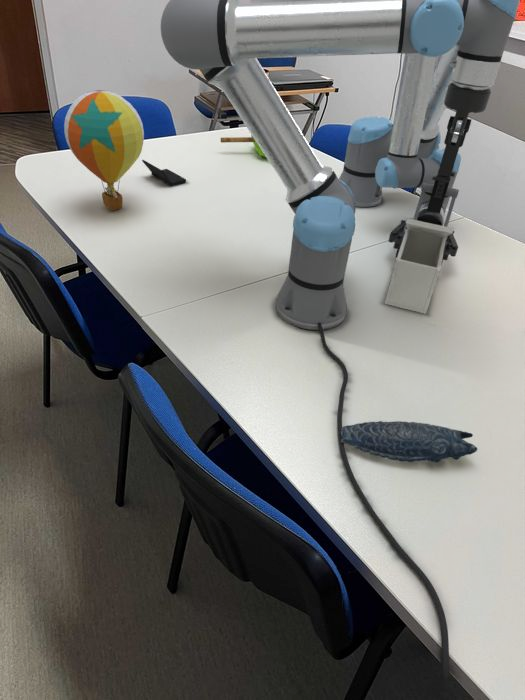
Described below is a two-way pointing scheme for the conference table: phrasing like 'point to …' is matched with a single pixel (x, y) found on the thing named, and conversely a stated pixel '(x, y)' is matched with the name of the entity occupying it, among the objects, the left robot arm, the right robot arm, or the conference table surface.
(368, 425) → the fish model
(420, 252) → the chest
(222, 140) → the decorative tree
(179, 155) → the conference table surface
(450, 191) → the lid
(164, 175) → the black angular block
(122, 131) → the toy
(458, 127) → the left robot arm
